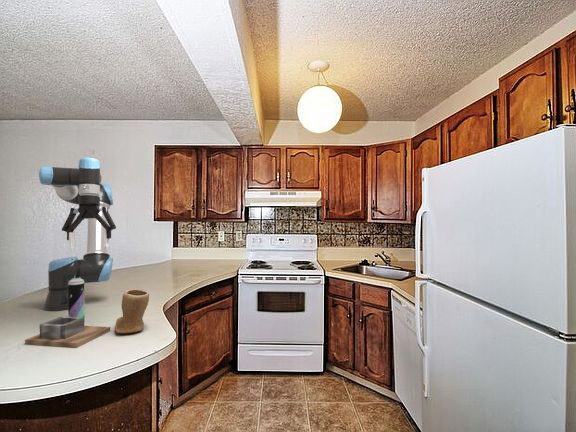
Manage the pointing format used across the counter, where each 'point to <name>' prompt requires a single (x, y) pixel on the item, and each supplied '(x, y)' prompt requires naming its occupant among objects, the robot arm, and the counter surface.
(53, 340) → the socket board
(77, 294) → the spray can
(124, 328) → the tan boot-shaped piece
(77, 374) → the counter surface
